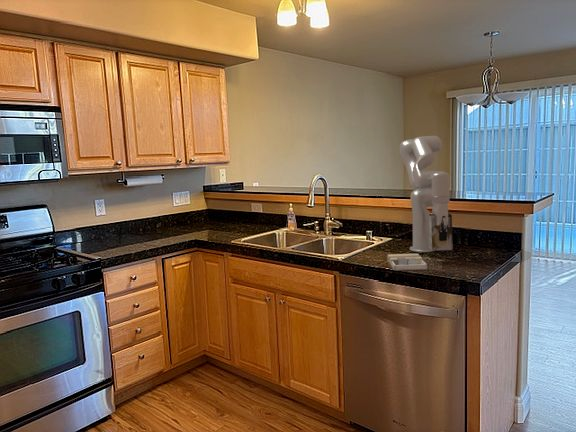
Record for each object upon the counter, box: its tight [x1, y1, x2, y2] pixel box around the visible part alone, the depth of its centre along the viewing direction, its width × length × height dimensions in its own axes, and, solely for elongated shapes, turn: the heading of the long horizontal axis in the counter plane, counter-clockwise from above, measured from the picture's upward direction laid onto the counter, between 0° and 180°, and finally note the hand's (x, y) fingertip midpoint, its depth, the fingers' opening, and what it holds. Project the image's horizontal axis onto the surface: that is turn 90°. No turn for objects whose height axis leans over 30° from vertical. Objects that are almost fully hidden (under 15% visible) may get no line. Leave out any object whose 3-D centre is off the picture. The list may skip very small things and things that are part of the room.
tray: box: [390, 260, 428, 272], centre depth 195 cm, size 8×14×2 cm, turn 87°
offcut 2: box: [407, 258, 417, 265], centre depth 196 cm, size 4×4×4 cm
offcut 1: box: [397, 258, 407, 265], centre depth 197 cm, size 4×4×4 cm
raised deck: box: [387, 252, 424, 266], centre depth 204 cm, size 10×14×3 cm
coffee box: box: [429, 212, 453, 252], centre depth 200 cm, size 9×6×16 cm
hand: (440, 238), depth 201 cm, fingers closed on coffee box, 6 cm apart
